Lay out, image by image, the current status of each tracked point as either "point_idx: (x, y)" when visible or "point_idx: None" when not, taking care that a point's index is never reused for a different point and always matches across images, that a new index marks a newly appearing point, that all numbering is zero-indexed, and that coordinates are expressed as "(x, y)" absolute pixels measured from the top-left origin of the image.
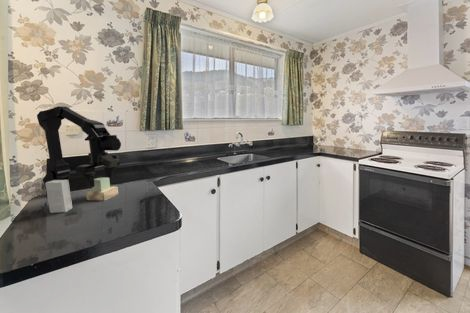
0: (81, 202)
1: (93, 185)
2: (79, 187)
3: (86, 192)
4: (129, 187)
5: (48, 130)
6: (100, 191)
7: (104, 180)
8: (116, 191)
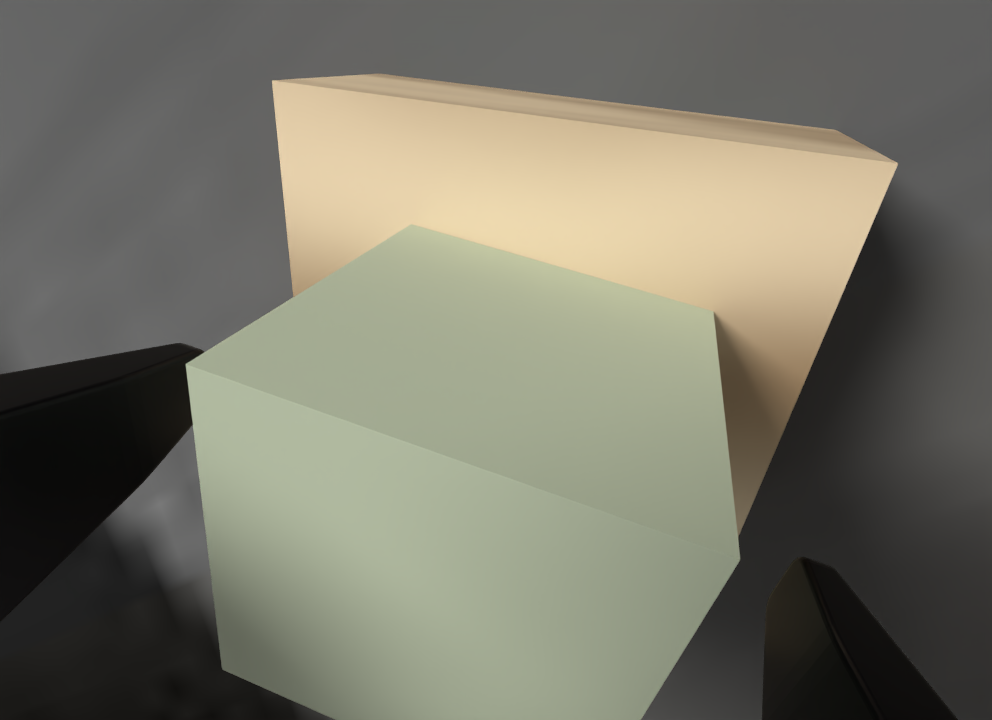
0: (851, 523)
1: (861, 605)
2: (239, 710)
3: None
4: (12, 95)
5: None
6: (734, 328)
7: (486, 423)
8: (390, 83)
